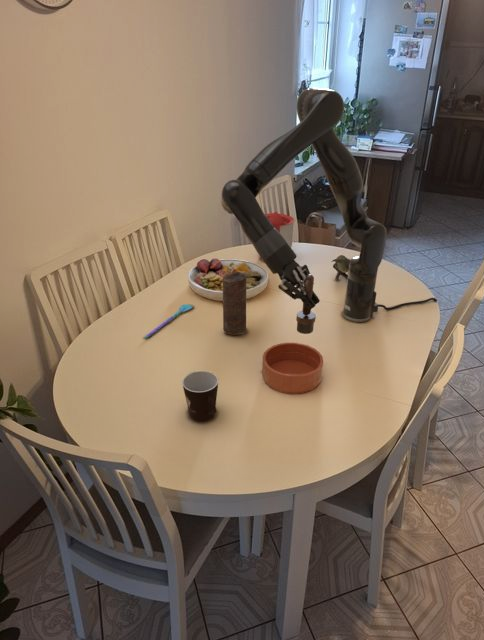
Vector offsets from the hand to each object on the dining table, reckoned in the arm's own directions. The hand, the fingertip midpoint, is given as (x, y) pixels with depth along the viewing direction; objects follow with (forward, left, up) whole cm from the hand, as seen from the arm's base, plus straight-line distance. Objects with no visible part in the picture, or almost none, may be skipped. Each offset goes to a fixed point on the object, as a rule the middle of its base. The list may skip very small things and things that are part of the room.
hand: (314, 305), depth 126 cm
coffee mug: (+32, +10, -22) cm, 40 cm away
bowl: (+8, -61, -22) cm, 66 cm away
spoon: (+33, -40, -22) cm, 57 cm away
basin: (+5, -1, -22) cm, 23 cm away
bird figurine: (-37, -57, -22) cm, 71 cm away
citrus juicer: (-17, -83, -22) cm, 88 cm away
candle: (+14, -28, -22) cm, 39 cm away
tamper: (+2, -1, -8) cm, 8 cm away
